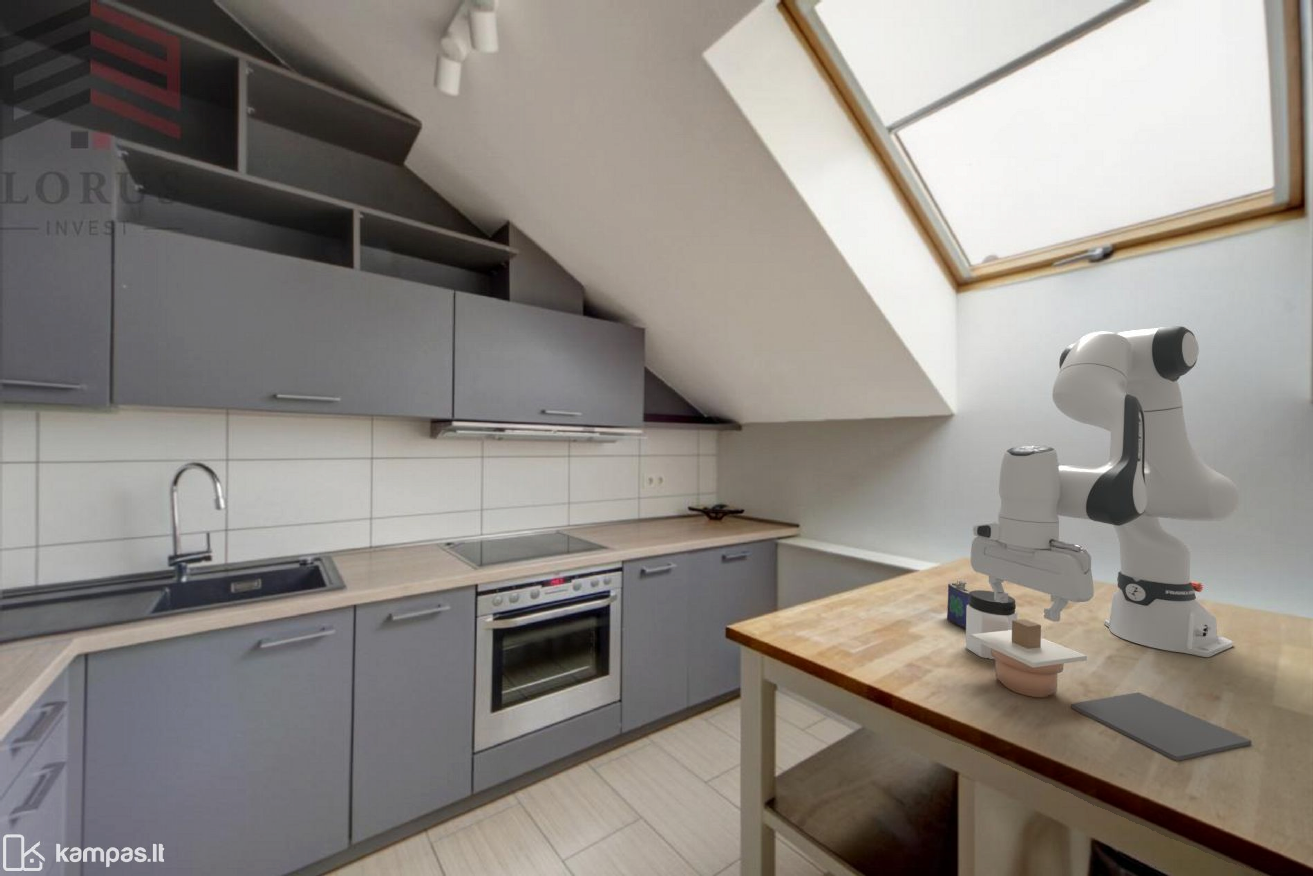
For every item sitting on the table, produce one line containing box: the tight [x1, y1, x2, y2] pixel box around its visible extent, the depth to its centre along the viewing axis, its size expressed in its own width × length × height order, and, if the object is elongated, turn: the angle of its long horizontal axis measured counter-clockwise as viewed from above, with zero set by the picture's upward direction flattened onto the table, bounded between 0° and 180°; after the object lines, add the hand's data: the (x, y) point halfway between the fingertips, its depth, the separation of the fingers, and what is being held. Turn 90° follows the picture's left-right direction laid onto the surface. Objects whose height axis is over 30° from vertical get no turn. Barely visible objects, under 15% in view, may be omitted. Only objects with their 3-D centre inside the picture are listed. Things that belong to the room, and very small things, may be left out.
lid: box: [971, 618, 1088, 668], centre depth 89 cm, size 12×12×5 cm
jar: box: [965, 589, 1018, 661], centre depth 103 cm, size 9×8×12 cm
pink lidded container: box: [991, 648, 1065, 698], centre depth 89 cm, size 11×11×7 cm
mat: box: [1069, 692, 1252, 762], centre depth 78 cm, size 16×14×1 cm
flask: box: [946, 580, 972, 631], centre depth 119 cm, size 9×3×11 cm, turn 2°
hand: (1025, 610), depth 89 cm, fingers open, 8 cm apart
